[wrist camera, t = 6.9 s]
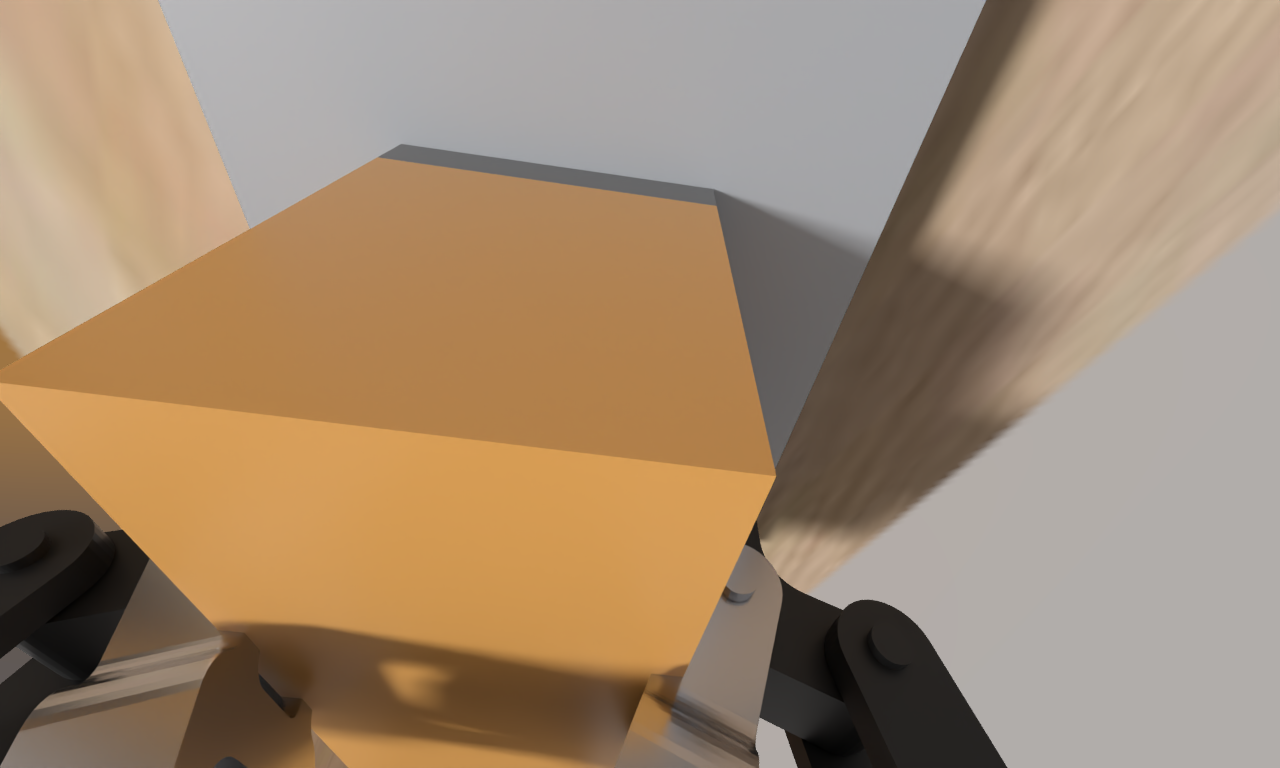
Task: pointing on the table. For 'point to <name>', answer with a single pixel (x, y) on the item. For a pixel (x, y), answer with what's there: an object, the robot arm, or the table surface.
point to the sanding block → (435, 449)
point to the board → (608, 119)
